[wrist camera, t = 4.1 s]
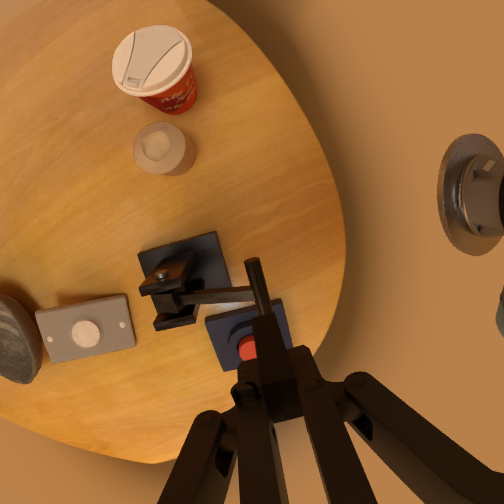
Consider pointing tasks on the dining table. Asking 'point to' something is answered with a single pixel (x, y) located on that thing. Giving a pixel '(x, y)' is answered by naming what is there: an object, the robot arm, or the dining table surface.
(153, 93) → the paper cup
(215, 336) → the control block
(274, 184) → the dining table surface
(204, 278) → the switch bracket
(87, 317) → the light switch
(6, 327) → the bowl
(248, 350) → the power button
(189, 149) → the candle
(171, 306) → the switch lever
